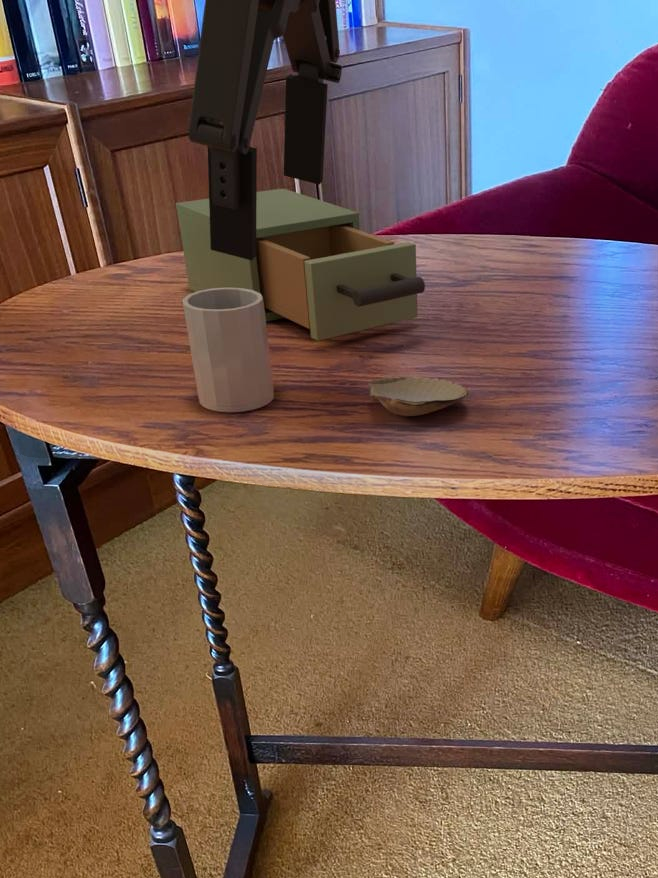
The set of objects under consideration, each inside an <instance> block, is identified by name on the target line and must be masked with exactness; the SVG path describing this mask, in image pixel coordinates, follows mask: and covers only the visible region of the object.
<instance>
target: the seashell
mask: <svg viewBox="0 0 658 878" xmlns="http://www.w3.org/2000/svg"><path fill="white" fill-rule="evenodd" d="M367 384H368V387H369V388H370V391H369V392H370V393H369V395H370V397H373V398H375V399H377V400H378V402H379V403H380V404H381V405H382V406H383V407H384V408H385V409H386V410H388V411H389V412H391V413H393V414H394V415H398V416H402V417H416V416H422V415H427V414H430V413H433V412H436V411H439V410H442V409H445V408H447V407H450V406H452V405H453V404H456V403H458V402H459V401H461V400H463V399H464V398H466V397H467V396H469V390H468V389H467V388H466V387H465V386H464V387H463V386H462V385H461V384H458V383H457V382H454V381H452V380H449V381H447V380H446V379H439V377H434V378H432V377H422V376H416V377H413V376H399V377H396V376H395V377H388V378H387V377H385V378H378V379H373V380H371V381H369V383H367Z"/></svg>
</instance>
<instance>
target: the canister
mask: <svg viewBox="0 0 658 878" xmlns="http://www.w3.org/2000/svg"><path fill="white" fill-rule="evenodd" d="M182 306H183V307H182V308H183V313H184V319H185V326H186V331H187V337H188V344H189V349H190V356H191V362H192V367H193V373H194V381H195V387H196V392H197V393H196V394H197V398H198V402H199V405H201V407H203V408H205V409H207V410H209V411H213V412H219V413H243V412H248V411H254V410H257V409H260V408H262V407H265V406H267V405H269V404H270V403H271V402H272V401H273V400H274V397H275V394H274V391H275V389H274V380H273V370H272V364H271V363H272V362H271V356H270V355H271V354H270V346H269V338H268V337H269V336H268V328H267V322H266V319H265V310H264V302H263V297H262V295H261V294H260V293H258V292H256V291H254V290H249V289H244V288H228V287H227V288H212V289H207V290H201V291H197V292H194V291H193V292H192V293H188V294H187V295H186V296H184V298H182Z"/></svg>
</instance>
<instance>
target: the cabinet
mask: <svg viewBox="0 0 658 878" xmlns="http://www.w3.org/2000/svg"><path fill="white" fill-rule="evenodd" d="M175 208H176V212H177V213H176V214H177V219H178V226H179V232H180V239H181V244H182V250H183V257H184V264H185V270H186V275H187V276H186V277H187V283H188V289H189V290H190V291H192V292H193V293H194V292H197V291H201V290H207V289H212V288H227V287H228V288H244V289H249V290H254V291H256V292H258V293H260V284H259V276H258V267H257V258H256V257H255V258H254V259H253V260H248V259H244V258H240V257H236V256H233V255H229V254H225V253H221V252H217V251H213V250H211V244H210V210H209V198H204V199H203V198H202V199H196V200H188V201H181V202H176V203H175ZM340 224H343V225H345V226H348V227H351V228H354V229H357V230H360V231H361V227H360V226H361V225H360V213H359V212H357V211H355V210H352V209H349V208H345V207H342V206H339V205H337V204H333V203H330V202H326V201H324V200H320V199H318V198H314V197H311V196H308V195H306V194H302V193H299V192H296V191H292V190H289V189H286V188H283V187H282V188H277V189H269V190H262V191H257V204H256V238H261V237H267V236H273V235H279V234H285V233H291V232H297V231H303V230H309V229H316V228H322V227H328V226H334V225H340ZM260 294H261V293H260ZM264 310H265V319H266V323H268V322H272V321H276V320H281V319H285V317H283V316H281V315H279V314H277V313H275V312H273V311H271V310H269V309H267V308H265V307H264Z"/></svg>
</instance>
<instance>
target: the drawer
mask: <svg viewBox="0 0 658 878" xmlns="http://www.w3.org/2000/svg"><path fill="white" fill-rule="evenodd" d="M256 258H257V267H258V276H259V284H260V293H261V295H262V297H263V302H264V307H265V308H267V309H269V310H271V311H273V312H275V313H277V314H279V315H281V316H283V317H285V318H286V319H287V320H290V321H291V322H294V323H295V324H298V325H300V326H301V327H304V328H306V329H308V330H310V338H311V339H313V340H315V341H316V342H319V341H323V340H327V339H328V340H329V339H332V338H336V337H340V336H344V335H348V334H353V333H357V332H361V331H366V330H370V329H373V328H378V327H382V326H386V325H390V324H391V325H392V324H395V323H400V322H403V321H407V320H412V319H416V318H418V294H423V293H424V292H425V290H426V285H425V281H424V279H423V278H422V277H421V276H417V244H416V243H413V242H410V241H405V242H399V243H395V242H394V241H392V240H389V239H386V238H383V237H381V236H378V235H374V234H372V233H369V232H366V231H363V230H361V229H360V230H357V229H354V228H351V227H348V226H345V225H343V224H340V225H334V226H328V227H322V228H316V229H309V230H303V231H297V232H291V233H285V234H279V235H273V236H267V237H261V238H256ZM285 318H284V319H285Z"/></svg>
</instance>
